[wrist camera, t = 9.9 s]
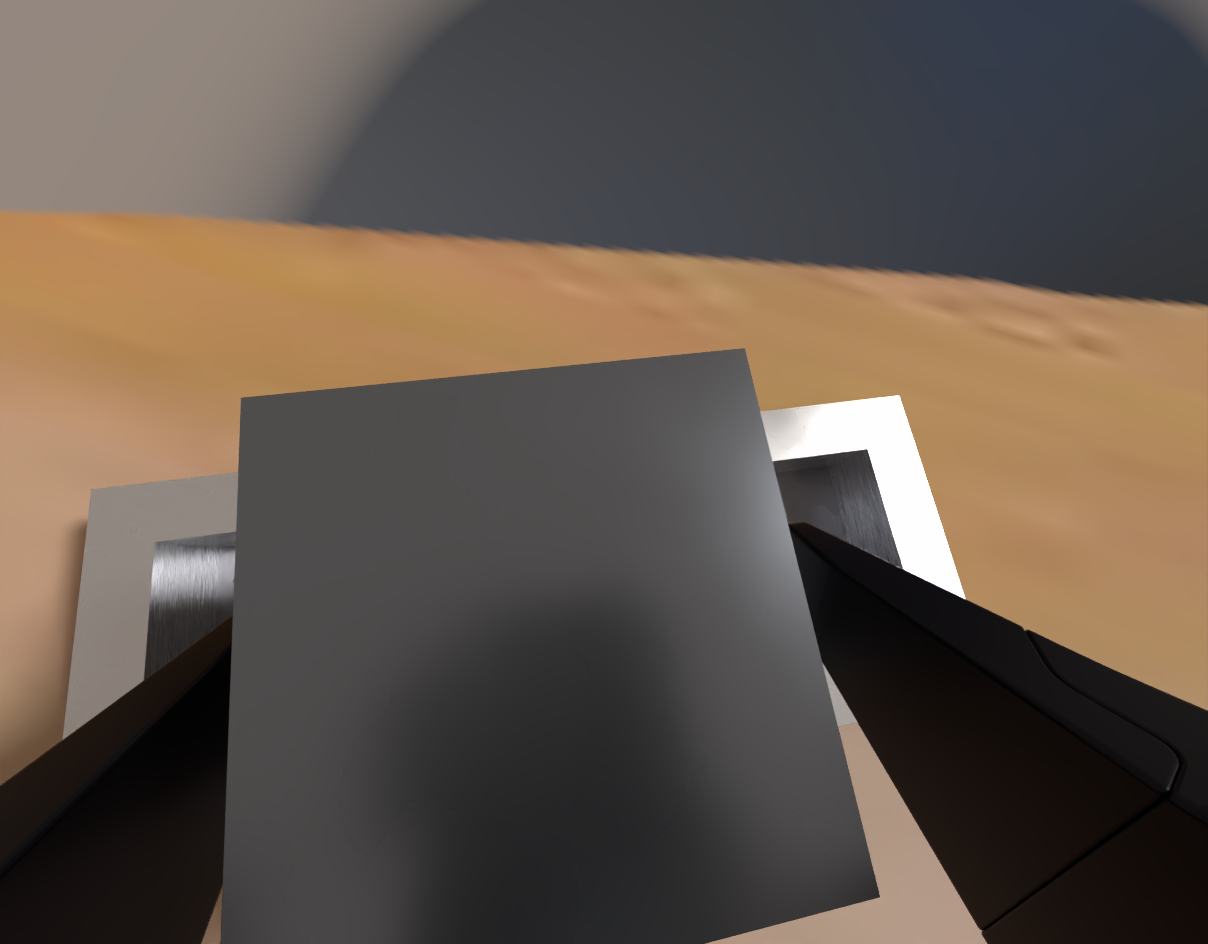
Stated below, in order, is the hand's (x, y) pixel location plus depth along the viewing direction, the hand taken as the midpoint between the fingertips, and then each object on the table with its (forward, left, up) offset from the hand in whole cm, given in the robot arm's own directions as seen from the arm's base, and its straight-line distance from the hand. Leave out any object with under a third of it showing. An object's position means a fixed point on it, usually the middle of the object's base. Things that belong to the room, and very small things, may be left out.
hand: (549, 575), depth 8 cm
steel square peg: (-1, 0, -8) cm, 8 cm away
